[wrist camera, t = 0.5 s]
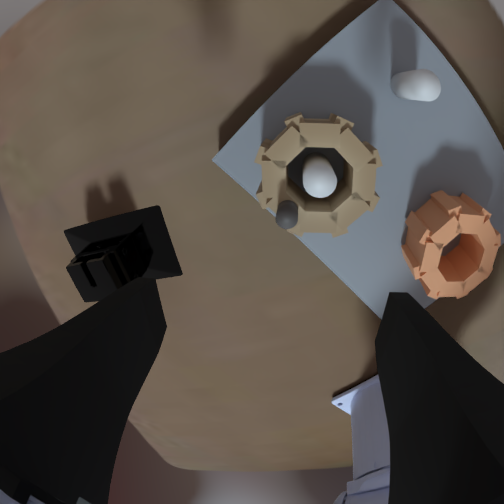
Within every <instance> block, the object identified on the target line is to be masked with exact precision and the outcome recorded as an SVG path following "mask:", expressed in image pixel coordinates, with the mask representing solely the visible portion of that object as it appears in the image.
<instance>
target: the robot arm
mask: <svg viewBox="0 0 504 504" xmlns="http://www.w3.org/2000/svg"><path fill="white" fill-rule="evenodd" d="M166 328H167V325H166V321H165V317H164V313H163V309H162V305H161V301H160V297H159V293H158V288H157V284H156V279H154V278H143V277H138V278H136V279H134V280H132V281H131V282H129V283H127V284H126V285H124V286H122V287H121V288H119V289H118V290H116V291H114V292H113V293H111V294H110V295H108V296H107V297H105V298H104V299H102V300H101V301H99V302H97V303H96V304H94V305H93V306H91V307H90V308H88V309H87V310H85V311H83V312H82V313H80V314H78V315H77V316H75V317H73V318H72V319H70V320H69V321H67V322H65V323H64V324H62V325H60V326H58V327H57V328H55V329H53V330H51V331H49V332H48V333H45V334H43V335H41V336H40V337H37V338H36V339H33V340H31V341H29V342H27V343H24V344H22V345H19V346H17V347H15V348H12V349H10V350H7V351H5V352H2V353H0V504H108V496H109V490H110V483H111V478H112V473H113V468H114V464H115V459H116V455H117V451H118V448H119V444H120V441H121V437H122V434H123V431H124V427H125V425H126V421H127V419H128V416H129V413H130V411H131V408H132V406H133V404H134V402H135V400H136V397H137V395H138V393H139V391H140V389H141V387H142V385H143V383H144V381H145V379H146V377H147V375H148V373H149V371H150V369H151V367H152V365H153V363H154V361H155V359H156V357H157V354H158V352H159V349H160V347H161V344H162V341H163V338H164V335H165V331H166ZM375 349H376V361H377V371H378V375H376V376H374V377H372V378H371V379H369V380H367V381H365V382H363V383H361V384H359V385H357V386H356V387H354V388H352V389H350V390H348V391H346V392H344V393H342V394H340V395H338V396H336V397H334V398H332V404H334V405H335V406H337V407H339V408H340V409H342V410H344V411H345V412H347V413H349V414H350V415H351V426H352V447H353V481H350V482H347V491H345V492H342V493H341V494H340V495H339V496H338V498H337V499H336V500H335V502H334V504H504V384H503V383H502V382H500V381H499V380H498V379H497V378H495V377H494V376H493V375H492V374H491V373H490V372H488V371H487V370H486V369H485V368H484V367H482V366H481V365H480V364H479V363H478V362H477V361H476V360H475V359H474V358H473V357H472V356H470V355H469V354H468V353H467V352H466V351H465V350H464V349H463V348H462V347H461V346H460V345H459V344H458V343H457V342H456V341H455V340H454V339H453V338H452V337H451V336H450V335H449V334H448V333H447V332H446V331H445V330H444V329H443V328H442V327H441V326H440V325H439V324H438V322H437V321H436V320H435V319H434V318H433V317H432V316H431V315H430V314H429V313H428V312H427V311H426V310H425V309H424V308H423V307H422V306H421V305H420V304H419V303H418V302H417V301H416V300H415V299H414V298H413V297H412V296H411V295H410V294H409V293H408V292H389V295H388V299H387V303H386V306H385V310H384V313H383V317H382V320H381V323H380V327H379V330H378V333H377V336H376V339H375Z"/></svg>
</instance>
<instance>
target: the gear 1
mask: <svg viewBox="0 0 504 504" xmlns="http://www.w3.org/2000/svg"><path fill="white" fill-rule="evenodd" d="M284 122H285V124H286V126H287V127H286V128H285V129H284V130H283V131H282V132H281V133H280V134H279V135H278V136H277V137H276V138H275V139H274V140H273V141H272V140H269V139H267V138H266V139H265V140H264V141H263V143H262V144H261V145H260V148H259V150H258V153H257V155H256V158H255V161H254V162H255V163H257V164H260V165H261V167H262V180H261V183H260V185H259V188H258V190H257V192H256V196H257V199H258V201H259V203H260V205H261V207H262V209H266V208H268V207H269V208H270V209H271V210H272V211H273V212H274V213H275V214H276V222H277V224H278V225H279V226H280V227H281V228H284V229H286V231H287V232H290V233H292V234H295V235H297V236H300V237H302V235H303V233H304V232H305V233H331V234H332V237H333V238H334V237H337V236H340V235H343V234H346V233H349V232H348V229H347V227H348V226H349V225H350V224H352V223H353V222H354V221H355V220H356V219H358V218H359V217H360V216H361V215H362V214H363V213H365V212H366V211H367V210H368V211H370V212H373V210H374V209H375V207H376V205H377V203H378V201H379V199H380V197H379V196H378V194H377V193H376V192H375V182H376V168H378V167H381V166H383V165H382V162H381V159H380V156H379V153H378V150H377V149H376V148H375V147H373V146H372V145H371V144H369V143H368V142H366V141H364V142H361V141H360V140H359V139H358V138H357V137H356V136H355V135H354V134H353V133H352V131H351V130H352V128H353V125H354V123H352V122H350V121H348V120H346V119H344V118H342V117H339V116H337V115H335V114H333V113H331V114H330V116H329V119H312V118H303V115H302V113H301V112H299V113H297V114H294V115H292V116H289V117H287V118H286V119H285V121H284ZM305 147H323V148H335V149H336V150H337V151H338V152H339V153H340V154H341V155H342V156H343V158H344V166H343V178H342V179H341V180H340V181H339V182H338V183H337V185H336V188H335V190H334V191H333V193H332V194H330V195H329V196H327V197H323V198H317V197H313V196H311V195H310V194H309V193H308V192H304V191H303V190H302V189H301V188H300V187H299V186H298V185H297V184H296V183H295V182H294V181H293V180H292V179H291V178H290V177H289V176H288V164H289V163H290V162H291V161H292V160H293V159H294V158H295V157H296V156H297V155H298V154H299V153H300V152H301V151H302V150H303V149H304V148H305Z"/></svg>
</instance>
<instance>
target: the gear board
mask: <svg viewBox="0 0 504 504" xmlns="http://www.w3.org/2000/svg"><path fill="white" fill-rule="evenodd" d="M299 112H301V113H302V115H303V118H312V119H329V116H330V114H331V113H333V114H335V115H337V116H339V117H342V118H344V119H346V120H348V121H350V122H352V123H354V125H353V128H352V130H351V131H352V133H353V134H354V135H355V136H356V137H357V138H358V139H359V140H360V141H361V142H364V141H366V142H368V143H369V144H371V145H372V146H373V147H375V148H376V149H377V150H378V153H379V156H380V159H381V162H382V165H383V166H381V167H378V168H376V182H375V192H376V193H377V194H378V196H379V197H380V199H379V201H378V203H377V205H376V207H375V209H374V210H373V212H370V211H368V210H367V211H366V212H365V213H363V214H362V215H361V216H360V217H359V218H358V219H356V220H355V221H354V222H353V223H352V224H350V225H349V226H348V227H347V229H348V232H349V233H346V234H343V235H340V236H337V237H334V238H333V237H332V234H331V233H305V232H304V233H303V235H302V237H300V236H297V235H295V234H294V235H295V236H296V237H297V238H298V239H299V240H300V241H302V242H303V243H304V244H305V245H306V246H307V247H308V248H309V249H310V250H311V251H312V252H313V253H314V254H315V255H316V256H317V257H318V258H319V259H320V260H321V261H323V262H324V263H325V264H326V265H327V266H328V267H329V268H330V269H331V270H332V271H333V272H334V273H335V274H336V275H337V276H338V277H339V278H340V279H341V280H342V281H343V282H344V283H345V284H346V285H347V286H348V287H349V288H350V289H351V290H352V291H353V292H354V293H355V294H356V295H357V296H358V297H359V298H360V299H361V300H362V301H363V302H364V303H365V304H366V305H367V306H368V307H369V308H370V309H371V310H372V311H373V312H374V313H375V314H376V315H377V316H378V317H379V318H380V319H381V320H382V317H383V313H384V310H385V306H386V303H387V299H388V295H389V292H408V293H409V294H410V295H411V296H412V297H413V298H414V299H415V300H416V301H417V302H418V303H419V304H420V305H421V306H422V307H423V308H424V309H425V308H426V307H428V306H429V305H430V304H432V303H433V302H434V301H436V299H434V298H431V297H429V296H427V294H426V292H425V290H424V288H423V286H422V284H421V282H420V280H419V279H417V280H415V278H414V276H413V274H412V272H411V270H410V268H409V267H408V265H407V263H406V261H405V259H404V257H403V253H402V249H401V245H404V244H405V242H406V236H407V230H408V226H407V225H406V223H405V221H406V219H407V217H408V216H409V214H410V212H411V211H413V212H416V211H417V210H418V209H419V208H420V207H421V206H422V205H424V204H425V203H426V202H427V201H428V200H429V199H430V198H431V195H430V194H432V193H434V192H437V191H440V190H442V191H444V192H445V193H446V194H447V195H449V196H459V197H460V196H461V194H462V192H463V193H464V194H466V195H467V196H469V197H470V198H471V199H473V200H474V201H475V202H477V203H478V204H479V205H480V206H482V207H483V208H484V209H485V210H487V211H488V212H489V213H490V214H492V215H491V217H490V219H489V220H490V223H491V225H492V227H494V228H495V229H496V230H497V231H498V232H499V233H500V234H501V245H502V244H503V243H504V150H503V148H502V146H501V144H500V142H499V140H498V138H497V136H496V134H495V133H494V131H493V129H492V127H491V125H490V124H489V122H488V120H487V118H486V117H485V115H484V113H483V112H482V110H481V108H480V107H479V105H478V104H477V102H476V100H475V99H474V97H473V96H472V94H471V93H470V91H469V90H468V88H467V87H466V85H465V84H464V83H463V81H462V80H461V78H460V77H459V75H458V74H457V73H456V71H455V70H454V69H453V67H452V66H451V65H450V63H449V62H448V61H447V60H446V58H445V57H444V56H443V54H442V53H441V52H440V51H439V50H438V48H437V47H436V46H435V45H434V44H433V42H432V41H431V40H430V39H429V38H428V37H427V35H426V34H425V33H424V32H423V31H422V30H421V29H420V28H419V27H418V25H417V24H416V23H415V22H414V21H413V20H412V19H411V18H410V17H409V16H408V15H407V14H406V13H405V12H404V11H403V10H402V9H401V8H400V7H399V6H398V5H397V4H396V3H395V2H394V1H393V0H378V1H377V2H376V3H375V4H373V5H372V6H371V7H369V8H368V9H367V10H366V11H364V12H363V13H362V14H361V15H359V16H358V17H357V18H356V19H355V20H353V21H352V22H351V23H350V24H349V25H347V26H346V27H345V28H344V29H343V30H342V31H340V32H339V33H338V34H337V35H336V36H335V37H333V38H332V39H331V40H330V41H329V42H328V43H327V44H325V45H324V46H323V47H322V48H321V49H320V50H319V51H318V52H317V53H315V54H314V55H313V56H312V57H311V58H310V59H309V60H308V61H307V62H306V63H305V64H304V65H302V66H301V67H300V68H299V69H298V70H297V71H296V72H295V73H294V74H293V75H292V76H291V77H290V78H289V79H288V80H287V81H286V82H285V83H284V84H283V85H282V86H281V87H280V88H279V89H278V90H277V91H276V92H275V93H274V94H273V95H272V96H271V97H270V98H269V99H268V100H267V101H266V102H265V103H264V104H263V105H262V106H261V107H260V108H259V109H258V110H257V111H256V112H255V113H254V114H253V115H252V116H251V117H250V118H249V119H248V121H247V122H246V123H245V124H244V125H243V126H242V127H241V128H240V129H239V130H238V131H237V132H236V133H235V135H234V136H233V137H232V138H231V139H230V140H229V141H228V142H227V143H226V144H225V146H224V147H223V148H222V149H221V150H220V151H219V152H218V153H217V155H216V156H215V157H214V158H213V159H212V161H213V162H215V163H216V164H217V165H218V166H219V167H220V168H221V169H223V170H224V171H225V172H226V173H227V174H228V175H229V176H230V177H232V178H233V179H234V180H235V181H236V182H237V183H238V184H239V185H241V186H242V187H243V188H244V189H245V190H246V191H247V192H248V193H249V194H251V195H252V196H253V197H254V198H255V199H256V200H257V201H258V199H257V196H256V192H257V190H258V188H259V185H260V183H261V180H262V167H261V165H260V164H257V163H255V162H254V161H255V158H256V155H257V153H258V150H259V148H260V145H261V144H262V143H263V141H264V140H265V139H266V138H267V139H269V140H272V141H273V140H274V139H275V138H276V137H277V136H278V135H279V134H280V133H281V132H282V131H283V130H284V129H285V128H286V127H287V126H286V124H285V122H284V121H285V119H286V118H287V117H289V116H292V115H294V114H297V113H299ZM343 166H344V158H343V156H342V155H341V154H340V153H339V152H338V151H337V150H336V149H335V148H323V147H305V148H304V149H303V150H302V151H301V152H300V153H299V154H298V155H297V156H296V157H295V158H294V159H293V160H292V161H291V162H290V163H289V164H288V176H289V177H290V178H291V179H292V180H293V181H294V182H295V183H296V184H297V185H298V186H299V187H300V188H301V189H302V190H303V191H304V192H308V193H309V194H310V195H311V196H313V197H317V198H323V197H327V196H329V195H330V194H332V193H333V191H334V190H335V188H336V185H337V183H338V182H339V181H340V180H341V179H342V178H343ZM258 202H259V201H258ZM266 209H267V210H268V211H269V212H270V213H271V214H273V215H274V216H275V217H276V214H275V213H274V212H273V211H272V210H271V209H270V208H269V207H268V208H266ZM461 234H462V233H459V234H458V235H457V236H456V237H455V238H454V239H453V240H451V241H450V242H449V243H448V244H447V245H445V246H444V247H443V249H442V253H441V256H446V255H447V254H448V253H449V252H450V251H452V250H453V249H454V248H455V247H456V246H457V245H459V242H460V238H461ZM499 247H500V246H499ZM499 247H498V248H499ZM438 298H440V297H438Z"/></svg>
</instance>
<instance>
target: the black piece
mask: <svg viewBox="0 0 504 504" xmlns="http://www.w3.org/2000/svg"><path fill="white" fill-rule="evenodd" d="M64 233H65V236H66V238H67V240H68V242H69V244H70V246H71V248H72V250H73V252H74V253H75V255H76V256H75V257H74V258H73V259H72V260H71V263H70V264H69V265H68V266H67V267H66V269H67V271H68V273H69V275H70V277H71V278H72V280H73V282H74V284H75V286H76V288H77V289H78V291H79V293H80V295H81V297H82V298H83V300H84V302H95V301H101V300H102V299H104V298H105V297H107V296H108V295H110V294H111V293H113V292H114V291H116V290H118V289H119V288H121V287H122V286H124V285H126V284H127V283H129V282H131V281H132V280H134V279H136V278H138V277H143V278H154V279H161V278H168V277H174V276H181V275H182V274H183V273H182V270H181V267H180V265H179V262H178V259H177V256H176V253H175V250H174V248H173V245H172V242H171V239H170V236H169V233H168V230H167V227H166V224H165V221H164V218H163V215H162V212H161V208H160V206H158V205H156V206H152V207H148V208H144V209H140V210H136V211H132V212H128V213H124V214H121V215H117V216H113V217H109V218H106V219H102V220H98V221H95V222H91V223H88V224H84V225H81V226H77V227H74V228H70V229H67V230H64Z"/></svg>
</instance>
